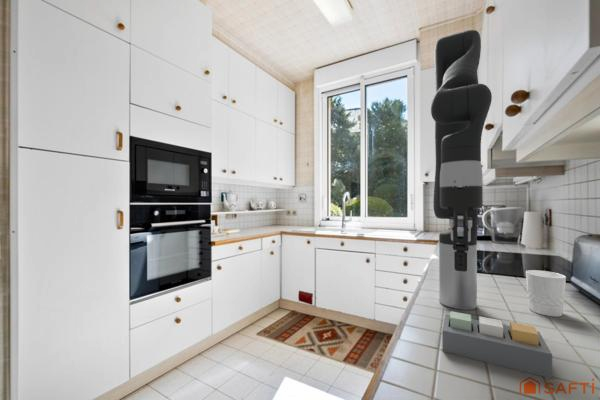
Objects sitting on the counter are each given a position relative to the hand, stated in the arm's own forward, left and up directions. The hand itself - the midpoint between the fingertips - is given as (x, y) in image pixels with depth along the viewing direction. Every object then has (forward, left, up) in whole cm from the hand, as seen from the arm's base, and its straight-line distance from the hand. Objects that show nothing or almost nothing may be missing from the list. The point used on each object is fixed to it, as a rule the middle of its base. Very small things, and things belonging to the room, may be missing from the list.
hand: (460, 270), depth 55 cm
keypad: (0, +5, -15) cm, 16 cm away
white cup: (-31, +19, -15) cm, 39 cm away
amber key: (0, +10, -11) cm, 15 cm away
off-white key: (0, +5, -11) cm, 12 cm away
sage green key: (0, 0, -11) cm, 11 cm away
